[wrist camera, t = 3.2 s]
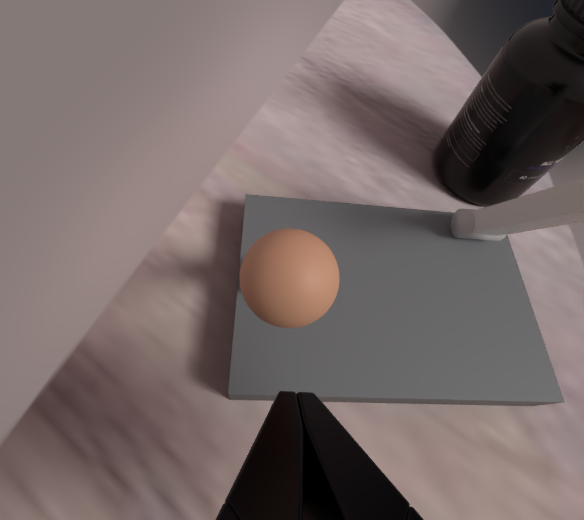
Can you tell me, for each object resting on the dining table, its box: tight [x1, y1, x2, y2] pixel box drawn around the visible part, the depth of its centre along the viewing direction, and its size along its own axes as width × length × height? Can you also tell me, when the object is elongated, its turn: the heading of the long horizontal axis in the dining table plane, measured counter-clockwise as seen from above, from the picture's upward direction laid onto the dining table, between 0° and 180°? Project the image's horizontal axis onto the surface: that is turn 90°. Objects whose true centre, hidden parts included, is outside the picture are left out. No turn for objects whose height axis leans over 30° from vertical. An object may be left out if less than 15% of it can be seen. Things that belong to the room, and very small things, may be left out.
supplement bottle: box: [434, 0, 584, 206], centre depth 20 cm, size 7×7×12 cm
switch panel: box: [228, 194, 564, 406], centre depth 18 cm, size 10×16×2 cm
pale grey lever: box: [451, 178, 584, 241], centre depth 15 cm, size 2×2×10 cm
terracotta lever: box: [240, 228, 339, 328], centre depth 12 cm, size 2×2×10 cm
